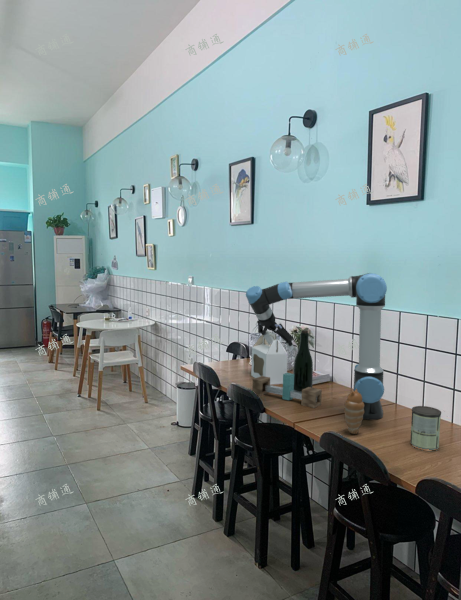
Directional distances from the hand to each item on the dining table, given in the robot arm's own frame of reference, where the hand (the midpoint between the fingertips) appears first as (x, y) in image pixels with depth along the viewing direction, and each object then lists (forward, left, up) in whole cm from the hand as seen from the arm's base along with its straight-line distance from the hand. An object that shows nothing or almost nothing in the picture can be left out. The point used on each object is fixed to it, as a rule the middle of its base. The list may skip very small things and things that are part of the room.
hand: (281, 346), depth 224 cm
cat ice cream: (-44, +16, -28) cm, 55 cm away
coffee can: (-70, +10, -28) cm, 76 cm away
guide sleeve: (-14, -7, -28) cm, 32 cm away
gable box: (+28, -34, -28) cm, 52 cm away
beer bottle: (+1, -25, -28) cm, 38 cm away
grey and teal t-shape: (-2, -7, -28) cm, 29 cm away
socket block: (+15, -7, -28) cm, 33 cm away
